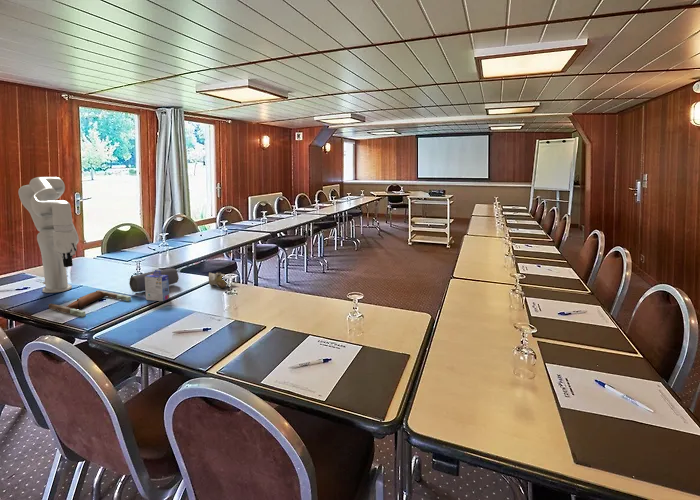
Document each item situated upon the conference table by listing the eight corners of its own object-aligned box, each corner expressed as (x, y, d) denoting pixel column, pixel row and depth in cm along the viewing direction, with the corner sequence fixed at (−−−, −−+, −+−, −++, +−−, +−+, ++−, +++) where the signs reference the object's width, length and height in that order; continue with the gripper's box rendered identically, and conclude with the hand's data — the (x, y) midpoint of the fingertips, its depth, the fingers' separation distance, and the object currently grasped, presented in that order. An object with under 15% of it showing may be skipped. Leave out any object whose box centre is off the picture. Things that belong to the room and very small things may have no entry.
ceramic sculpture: (215, 267, 235) (237, 271, 230) (215, 281, 237) (237, 286, 232) (202, 272, 225) (225, 276, 220) (202, 287, 227) (225, 292, 222)
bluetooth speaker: (170, 283, 233) (169, 266, 231) (179, 286, 228) (178, 268, 226) (129, 292, 215) (127, 274, 213) (138, 296, 210) (137, 277, 208)
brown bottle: (88, 296, 207) (93, 285, 206) (100, 304, 207) (106, 293, 206) (62, 309, 189) (68, 297, 188) (76, 317, 190) (81, 305, 189)
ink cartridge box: (170, 298, 208) (168, 270, 205) (163, 301, 202) (161, 273, 199) (153, 296, 210) (150, 269, 207) (145, 300, 204) (143, 271, 201)
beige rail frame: (48, 308, 190) (48, 304, 189) (98, 293, 212) (98, 290, 212) (82, 316, 181) (81, 312, 181) (131, 300, 203) (130, 296, 203)
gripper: (45, 228, 194) (50, 266, 198) (66, 230, 188) (70, 269, 192) (61, 226, 201) (65, 263, 204) (82, 228, 195) (86, 266, 199)
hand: (68, 266), depth 198 cm, fingers closed
